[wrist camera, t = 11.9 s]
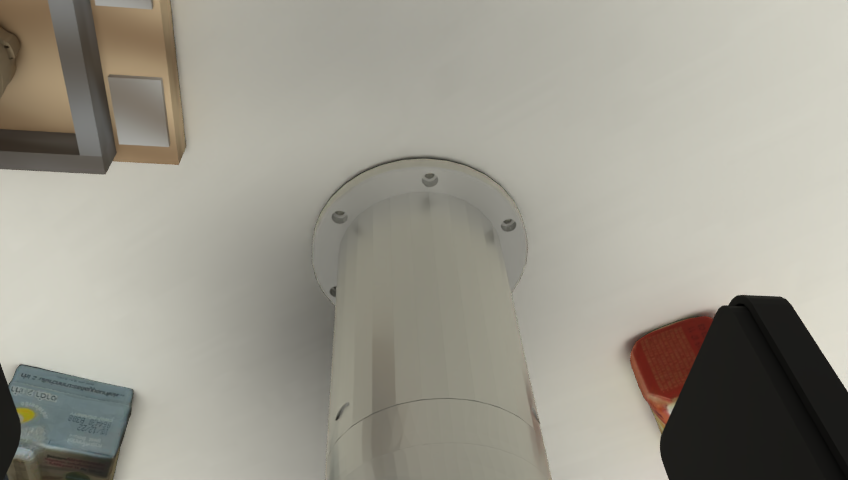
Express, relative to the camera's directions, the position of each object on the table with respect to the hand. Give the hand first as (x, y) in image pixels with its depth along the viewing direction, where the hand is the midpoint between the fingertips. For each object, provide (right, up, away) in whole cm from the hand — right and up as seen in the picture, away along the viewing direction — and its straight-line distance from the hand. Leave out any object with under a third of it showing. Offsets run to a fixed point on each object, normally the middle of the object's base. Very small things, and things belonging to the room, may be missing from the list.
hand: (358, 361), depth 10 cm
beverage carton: (-26, -14, +45) cm, 54 cm away
